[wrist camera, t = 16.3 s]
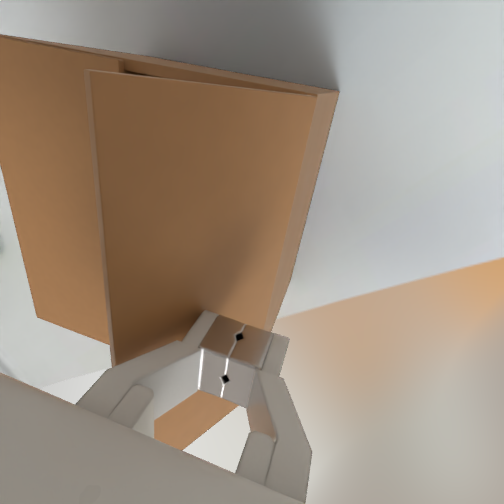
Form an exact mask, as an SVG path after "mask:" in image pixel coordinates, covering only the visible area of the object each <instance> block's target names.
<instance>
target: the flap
mask: <svg viewBox="0 0 504 504" xmlns="http://www.w3.org/2000/svg"><path fill="white" fill-rule="evenodd" d="M84 80H85V90H86V101H87V111H88V122H89V132H90V143H91V153H92V164H93V174H94V184H95V195H96V205H97V216H98V226H99V237H100V247H101V258H102V268H103V279H104V289H105V300H106V310H107V321H108V331H109V342H110V352H111V362H112V367H114V366H117V365H119V364H122V363H124V362H126V361H129V360H131V359H134V358H136V357H138V356H141V355H143V354H145V353H148V352H150V351H153V350H155V349H157V348H160V347H162V346H164V345H167V344H169V343H172V342H174V341H176V340H178V341H182V340H183V338H184V337H185V336H186V334H187V333H188V331H189V330H190V329H191V327H192V326H193V324H194V323H195V322H196V320H197V319H198V317H199V316H200V315H201V313H202V312H203V311H205V310H208V311H210V312H213V313H216V314H218V315H222V316H225V317H228V318H231V319H233V320H236V321H239V322H242V323H244V324H248V325H251V326H254V327H257V328H260V329H263V330H264V326H265V322H266V318H267V313H268V309H269V305H270V300H271V296H272V292H273V288H274V283H275V279H276V275H277V270H278V266H279V262H280V257H281V253H282V249H283V244H284V240H285V236H286V231H287V227H288V223H289V218H290V214H291V210H292V206H293V201H294V197H295V193H296V188H297V184H298V180H299V175H300V171H301V167H302V162H303V158H304V154H305V149H306V145H307V141H308V136H309V132H310V128H311V124H312V119H313V115H314V111H315V106H316V102H317V97H316V96H311V95H303V94H295V93H286V92H278V91H269V90H261V89H252V88H244V87H235V86H227V85H218V84H210V83H201V82H193V81H184V80H176V79H167V78H159V77H150V76H142V75H133V74H125V73H116V72H108V71H99V70H91V69H84ZM237 406H239V405H237V404H235V403H232V402H230V401H228V400H225V399H223V398H220V397H217V396H215V395H212V394H209V393H206V392H203V391H200V390H198V389H197V392H195V393H194V394H192V395H191V396H189V397H188V398H187V399H185V400H184V401H182V402H181V403H179V404H178V405H176V406H175V407H173V408H172V409H170V410H169V411H167V412H166V413H164V414H163V415H161V416H160V417H158V418H157V419H156V420H154V439H156V440H158V441H161V442H163V443H165V444H168V445H170V446H172V447H175V448H177V449H179V450H183V449H185V448H186V447H187V446H188V445H190V444H191V443H192V442H193V441H195V440H196V439H197V438H198V437H200V436H201V435H202V434H203V433H205V432H206V431H207V430H209V429H210V428H211V427H212V426H214V425H215V424H216V423H217V422H219V421H220V420H221V419H222V418H223V417H225V416H226V415H227V414H229V413H230V412H231V411H232V410H233V409H235V408H236V407H237Z"/></svg>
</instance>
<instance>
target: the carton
mask: <svg viewBox="0 0 504 504" xmlns="http://www.w3.org/2000/svg"><path fill="white" fill-rule="evenodd" d="M84 69H91V70H99V71H108V72H116V73H125V74H133V75H142V76H150V77H159V78H167V79H176V80H184V81H193V82H201V83H210V84H218V85H227V86H235V87H244V88H252V89H261V90H269V91H278V92H286V93H295V94H303V95H311V96H316V97H317V102H316V106H315V111H314V115H313V119H312V124H311V128H310V132H309V136H308V141H307V145H306V149H305V154H304V158H303V162H302V167H301V171H300V175H299V180H298V184H297V188H296V193H295V197H294V201H293V206H292V210H291V214H290V218H289V223H288V227H287V231H286V236H285V240H284V244H283V249H282V253H281V257H280V262H279V266H278V270H277V275H276V279H275V283H274V288H273V292H272V296H271V300H270V305H269V309H268V313H267V318H266V322H265V326H264V330H266V331H269V332H271V331H272V328H273V325H274V323H275V320H276V318H277V315H278V312H279V310H280V307H281V304H282V302H283V299H284V296H285V294H286V291H287V288H288V286H289V283H290V280H291V276H292V272H293V268H294V265H295V261H296V257H297V253H298V249H299V245H300V242H301V238H302V234H303V230H304V226H305V222H306V219H307V215H308V211H309V207H310V203H311V199H312V195H313V192H314V188H315V184H316V180H317V176H318V172H319V169H320V165H321V161H322V157H323V153H324V149H325V146H326V142H327V138H328V134H329V130H330V126H331V123H332V119H333V115H334V111H335V107H336V103H337V100H338V96H339V91H336V90H330V89H325V88H319V87H314V86H308V85H303V84H297V83H292V82H286V81H281V80H275V79H270V78H264V77H259V76H253V75H248V74H242V73H237V72H232V71H226V70H221V69H215V68H210V67H204V66H199V65H193V64H188V63H182V62H177V61H171V60H166V59H160V58H155V57H149V56H143V55H136V54H130V53H123V52H116V51H109V50H102V49H96V48H89V47H82V46H75V45H69V44H62V43H55V42H48V41H42V40H35V39H28V38H21V37H15V36H8V35H1V34H0V165H1V169H2V173H3V177H4V182H5V186H6V190H7V194H8V198H9V202H10V207H11V211H12V215H13V219H14V223H15V228H16V232H17V236H18V240H19V244H20V248H21V253H22V257H23V261H24V265H25V269H26V273H27V278H28V282H29V286H30V290H31V294H32V298H33V303H34V307H35V311H36V315H37V317H38V318H40V319H43V320H46V321H48V322H51V323H53V324H56V325H59V326H61V327H64V328H66V329H69V330H72V331H74V332H77V333H79V334H82V335H85V336H87V337H90V338H92V339H95V340H98V341H100V342H103V343H105V344H108V345H110V342H109V331H108V321H107V310H106V300H105V289H104V279H103V268H102V258H101V247H100V237H99V226H98V216H97V205H96V195H95V184H94V174H93V164H92V153H91V143H90V132H89V122H88V111H87V101H86V90H85V80H84Z"/></svg>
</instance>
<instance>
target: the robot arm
mask: <svg viewBox="0 0 504 504" xmlns="http://www.w3.org/2000/svg"><path fill="white" fill-rule="evenodd" d="M289 340H290V339H289V338H288V337H285V336H282V335H279V334H276V333H275V334H274V333H272V332H269V331H266V330H263V329H260V328H257V327H254V326H251V325H248V324H244V323H242V322H239V321H236V320H233V319H231V318H228V317H225V316H222V315H218V314H216V313H213V312H210V311H208V310H205V311H203V312H202V313H201V315H200V316H199V317H198V319H197V320H196V322H195V323H194V324H193V326H192V327H191V329H190V330H189V331H188V333H187V334H186V336H185V337H184V338H183V340H182V341H178V340H176V341H174V342H172V343H169V344H167V345H164V346H162V347H160V348H157V349H155V350H153V351H150V352H148V353H145V354H143V355H141V356H138V357H136V358H134V359H131V360H129V361H126V362H124V363H122V364H119V365H117V366H114V367H112V368H110V369H107V370H106V371H105V372H104V373H103V375H102V376H101V377H100V378H99V379H98V380H97V381H96V382H95V383H94V384H93V385H92V387H91V388H90V389H89V390H88V391H87V392H86V393H85V394H84V395H83V396H82V398H81V399H80V400H79V401H78V402H77V403H76V404H75V405H74V404H72V403H70V402H68V401H65V400H63V399H61V398H58V397H56V396H53V395H51V394H49V393H47V392H44V391H42V390H40V389H37V388H35V387H33V386H30V385H28V384H26V383H23V382H21V381H19V380H16V379H14V378H12V377H9V376H7V375H5V374H2V373H0V504H305V502H306V494H307V487H308V480H309V472H310V465H311V458H312V450H311V448H310V445H309V442H308V440H307V438H306V435H305V432H304V430H303V427H302V424H301V422H300V419H299V417H298V414H297V412H296V409H295V407H294V404H293V401H292V399H291V396H290V394H289V391H288V389H287V386H286V384H285V381H284V379H283V378H281V377H279V375H280V372H281V368H282V365H283V361H284V358H285V354H286V351H287V347H288V344H289ZM197 389H198V390H200V391H203V392H206V393H209V394H212V395H215V396H217V397H220V398H223V399H225V400H228V401H230V402H232V403H235V404H237V405H240V406H242V407H244V408H247V415H248V420H249V425H250V430H251V432H250V433H249V435H248V438H247V441H246V444H245V447H244V449H243V453H242V455H241V458H240V461H239V464H238V467H237V470H236V473H233V472H230V471H228V470H226V469H223V468H221V467H218V466H216V465H214V464H212V463H210V462H207V461H205V460H202V459H200V458H198V457H196V456H193V455H191V454H188V453H186V452H184V451H182V450H179V449H177V448H175V447H172V446H170V445H168V444H165V443H163V442H161V441H158V440H156V439H154V420H156V419H157V418H158V417H160V416H161V415H163V414H164V413H166V412H167V411H169V410H170V409H172V408H173V407H175V406H176V405H178V404H179V403H181V402H182V401H184V400H185V399H187V398H188V397H189V396H191V395H192V394H194V393H195V392H197Z"/></svg>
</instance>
